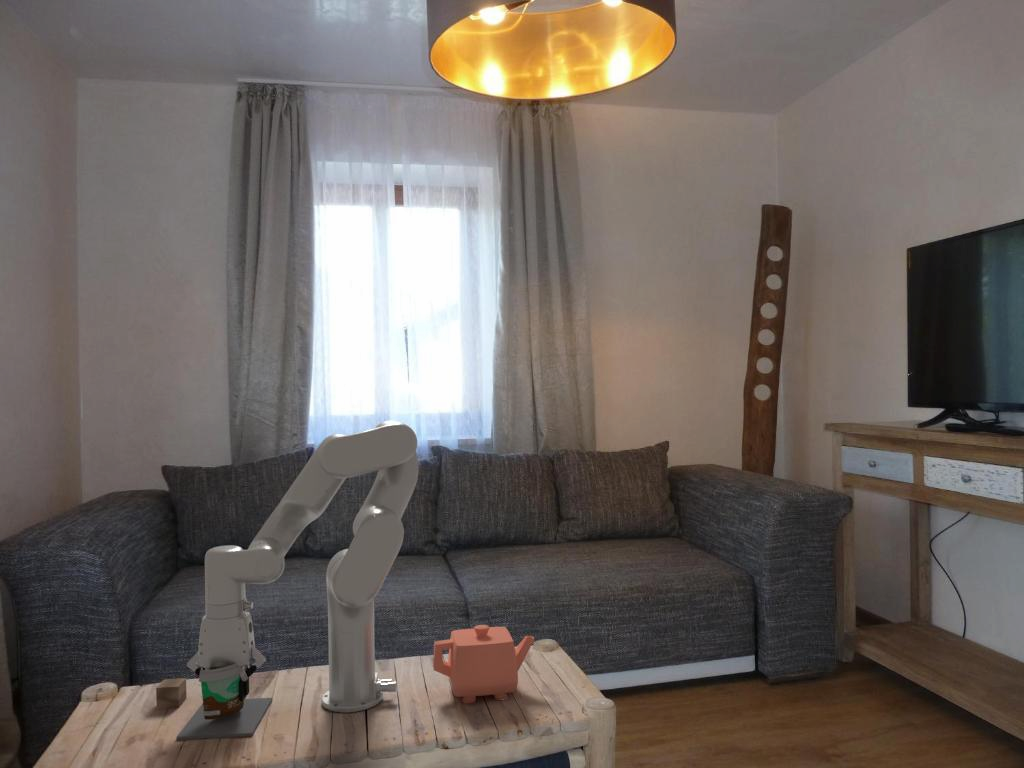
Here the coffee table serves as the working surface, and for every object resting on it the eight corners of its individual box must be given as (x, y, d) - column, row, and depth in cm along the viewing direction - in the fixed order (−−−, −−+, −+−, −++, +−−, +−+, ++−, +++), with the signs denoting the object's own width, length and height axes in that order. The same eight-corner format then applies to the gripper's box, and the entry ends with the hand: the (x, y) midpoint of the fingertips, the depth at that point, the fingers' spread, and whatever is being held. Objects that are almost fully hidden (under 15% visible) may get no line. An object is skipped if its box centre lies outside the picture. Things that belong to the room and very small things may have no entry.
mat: (272, 700, 158) (272, 697, 158) (252, 736, 142) (252, 732, 142) (204, 703, 157) (204, 701, 157) (176, 740, 141) (176, 736, 141)
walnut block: (186, 699, 160) (186, 678, 160) (179, 708, 155) (178, 686, 155) (164, 700, 159) (164, 679, 159) (156, 709, 155) (156, 687, 155)
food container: (229, 724, 143) (227, 672, 143) (200, 722, 144) (198, 671, 144) (261, 697, 155) (259, 649, 155) (233, 696, 156) (232, 648, 156)
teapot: (529, 676, 169) (528, 613, 169) (541, 699, 156) (540, 631, 156) (431, 684, 165) (430, 620, 165) (436, 709, 152) (435, 640, 152)
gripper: (274, 601, 154) (275, 689, 154) (188, 605, 152) (189, 693, 152) (264, 613, 146) (266, 705, 146) (174, 616, 145) (176, 709, 145)
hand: (227, 698), depth 149 cm, fingers closed on food container, 5 cm apart
